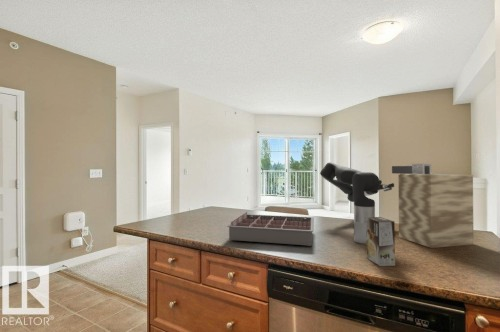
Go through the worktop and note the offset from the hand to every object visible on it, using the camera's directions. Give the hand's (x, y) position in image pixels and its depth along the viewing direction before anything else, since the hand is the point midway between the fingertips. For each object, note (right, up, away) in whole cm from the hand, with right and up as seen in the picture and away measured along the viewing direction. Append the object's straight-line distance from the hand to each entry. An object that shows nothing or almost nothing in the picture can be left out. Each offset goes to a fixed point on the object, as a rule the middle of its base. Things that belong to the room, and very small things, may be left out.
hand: (387, 183), depth 149 cm
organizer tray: (-69, -27, -18) cm, 76 cm away
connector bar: (+1, +6, -19) cm, 20 cm away
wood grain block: (+9, -26, -26) cm, 38 cm away
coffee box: (-32, -26, -53) cm, 67 cm away
